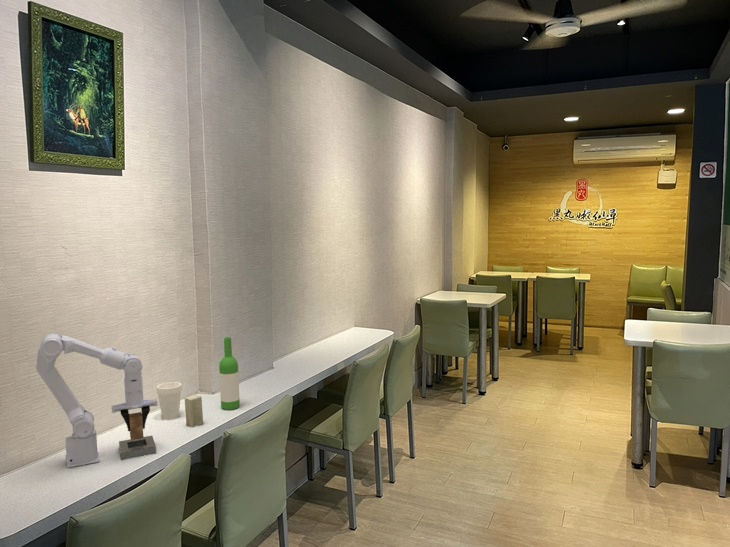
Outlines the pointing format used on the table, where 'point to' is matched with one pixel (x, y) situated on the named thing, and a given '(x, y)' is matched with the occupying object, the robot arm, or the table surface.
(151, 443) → the collar
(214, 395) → the table surface
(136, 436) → the peg
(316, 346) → the table surface
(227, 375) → the wine bottle
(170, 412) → the foam cup
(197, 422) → the box
